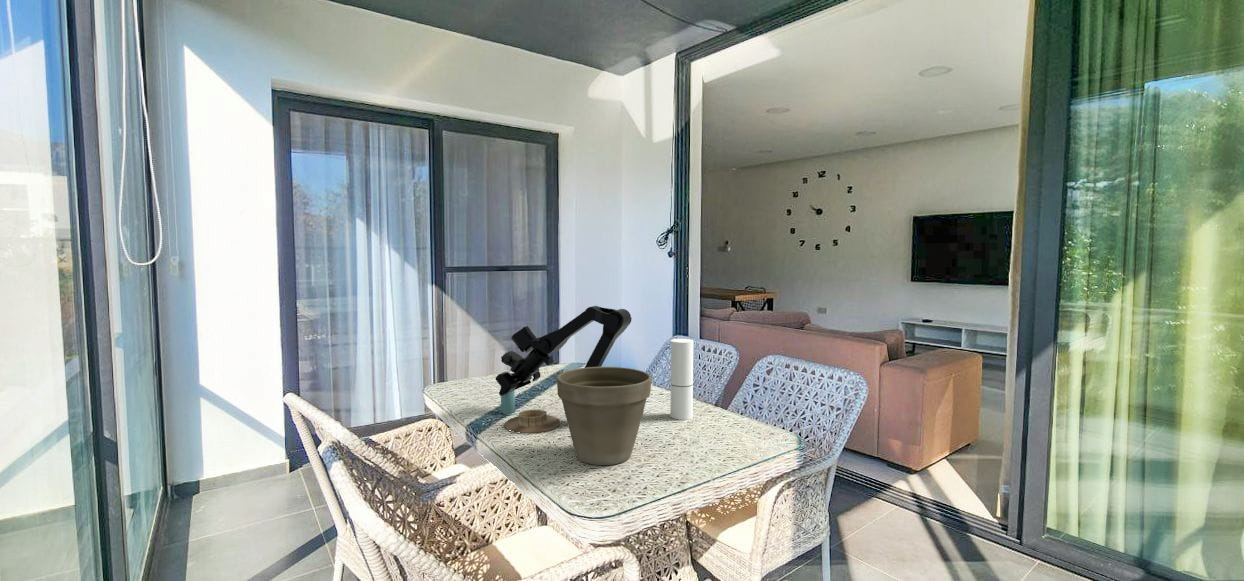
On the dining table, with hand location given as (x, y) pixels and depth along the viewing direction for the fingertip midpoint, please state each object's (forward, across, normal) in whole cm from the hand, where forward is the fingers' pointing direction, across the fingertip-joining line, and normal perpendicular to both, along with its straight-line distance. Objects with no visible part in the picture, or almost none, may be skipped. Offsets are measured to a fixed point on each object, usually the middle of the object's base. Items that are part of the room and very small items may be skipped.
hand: (504, 392), depth 187 cm
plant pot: (-28, +21, +38) cm, 51 cm away
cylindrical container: (-34, -19, +44) cm, 59 cm away
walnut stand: (-6, +7, +16) cm, 18 cm away
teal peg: (+4, 0, +6) cm, 7 cm away
